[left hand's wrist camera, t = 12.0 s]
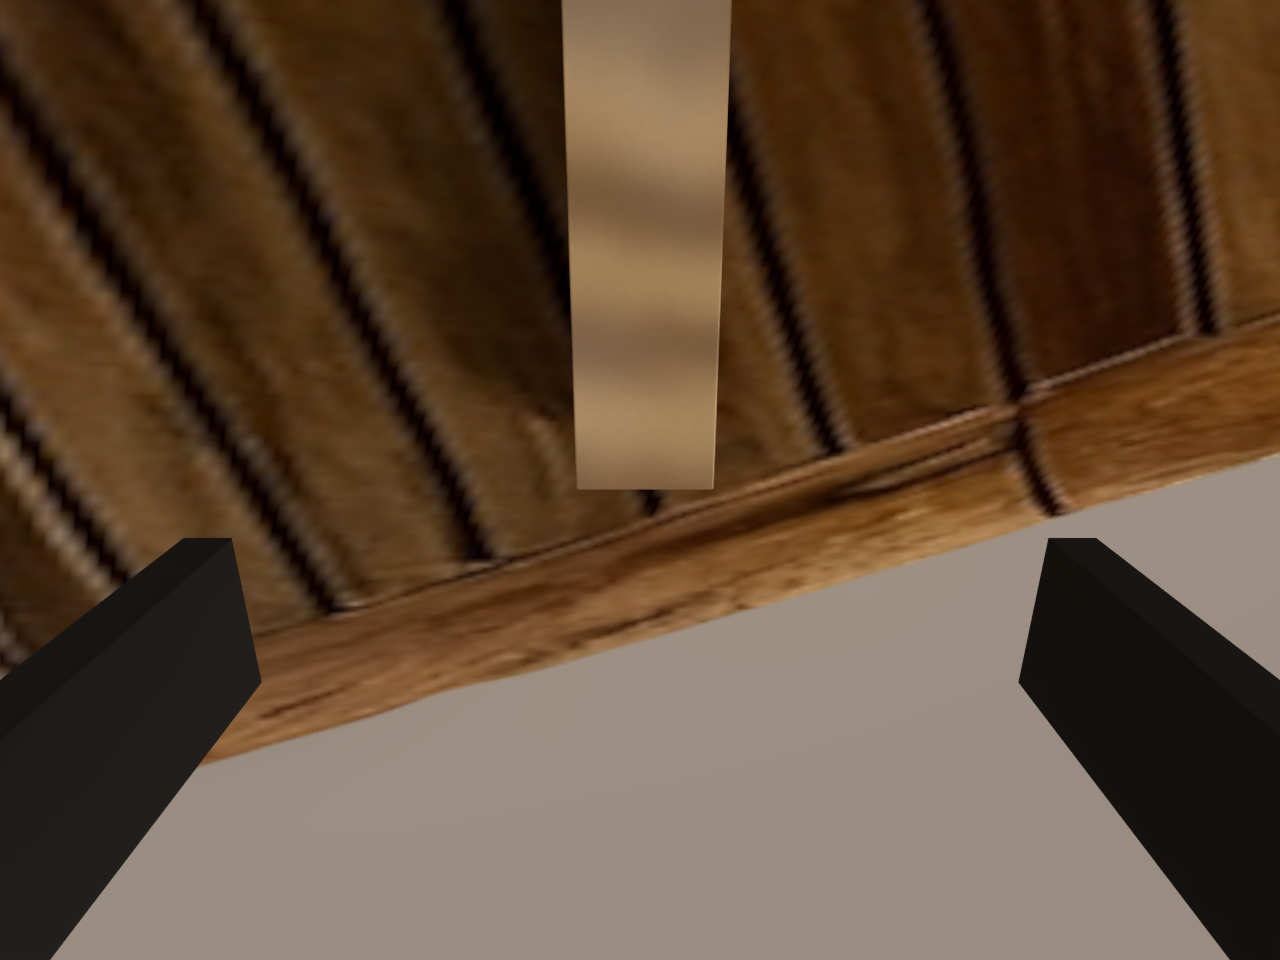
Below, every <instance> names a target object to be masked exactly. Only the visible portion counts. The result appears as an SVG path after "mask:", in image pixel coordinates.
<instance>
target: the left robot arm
mask: <svg viewBox="0 0 1280 960" xmlns="http://www.w3.org/2000/svg"><path fill="white" fill-rule="evenodd" d="M260 684H261V678H260V673H259V668H258V663H257V658H256V653H255V649H254V644H253V639H252V634H251V629H250V625H249V620H248V615H247V610H246V605H245V601H244V596H243V591H242V586H241V581H240V577H239V572H238V567H237V562H236V557H235V552H234V548H233V543H232V538H183V539H182V540H181V541H179V542H178V543H177V544H176V545H174V546H173V547H172V548H170V549H169V550H168V551H166V552H165V553H164V554H163V555H161V556H160V557H159V558H157V559H156V560H155V561H154V562H152V563H151V564H150V565H148V566H147V567H146V568H144V569H143V570H142V571H141V572H139V573H138V574H137V575H135V576H134V577H133V578H132V579H130V580H129V581H128V582H126V583H125V584H124V585H122V586H121V587H120V588H119V589H117V590H116V591H115V592H113V593H112V594H111V595H110V596H108V597H107V598H106V599H104V600H103V601H102V602H100V603H99V604H98V605H97V606H95V607H94V608H93V609H91V610H90V611H89V612H88V613H86V614H85V615H84V616H82V617H81V618H80V619H78V620H77V621H76V622H75V623H73V624H72V625H71V626H69V627H68V628H67V629H66V630H64V631H63V632H62V633H60V634H59V635H58V636H56V637H55V638H54V639H53V640H51V641H50V642H49V643H47V644H46V645H45V646H43V647H42V648H41V649H40V650H38V651H37V652H36V653H34V654H33V655H32V656H31V657H29V658H28V659H27V660H25V661H24V662H23V663H21V664H20V665H19V666H18V667H16V668H15V669H14V670H12V671H11V672H10V673H9V674H7V675H6V676H5V677H3V678H2V679H1V680H0V960H50V959H51V958H52V957H53V955H54V954H55V953H56V951H57V950H58V949H59V947H60V946H61V945H62V944H63V942H64V941H65V940H66V938H67V937H68V936H69V934H70V933H71V932H72V930H73V929H74V928H75V926H76V925H77V924H78V923H79V921H80V920H81V919H82V917H83V916H84V915H85V913H86V912H87V911H88V909H89V908H90V907H91V905H92V904H93V903H94V902H95V900H96V899H97V898H98V896H99V895H100V894H101V892H102V891H103V890H104V888H105V887H106V886H107V885H108V883H109V882H110V880H111V879H112V878H113V877H114V875H115V874H116V873H117V871H118V870H119V869H120V867H121V866H122V865H123V864H124V862H125V861H126V860H127V858H128V857H129V856H130V854H131V853H132V852H133V850H134V849H135V848H136V846H137V845H138V844H139V842H140V841H141V840H142V839H143V837H144V836H145V835H146V833H147V832H148V831H149V829H150V828H151V827H152V825H153V824H154V823H155V822H156V820H157V819H158V818H159V816H160V815H161V814H162V812H163V811H164V810H165V808H166V807H167V806H168V804H169V803H170V802H171V801H172V799H173V798H174V797H175V795H176V794H177V793H178V791H179V790H180V789H181V787H182V786H183V785H184V783H185V782H186V781H187V779H188V778H189V777H190V776H191V774H192V773H193V772H194V770H195V769H196V768H197V766H198V765H199V764H200V762H201V761H202V760H203V759H204V757H205V756H206V755H207V753H208V752H209V751H210V749H211V748H212V747H213V745H214V744H215V743H216V741H217V740H218V739H219V738H220V736H221V735H222V734H223V732H224V731H225V730H226V728H227V727H228V726H229V724H230V723H231V722H232V720H233V719H234V718H235V717H236V715H237V714H238V713H239V711H240V710H241V709H242V707H243V706H244V705H245V703H246V702H247V701H248V699H249V698H250V697H251V696H252V694H253V693H254V692H255V690H256V689H257V688H258V686H259V685H260ZM1019 684H1020V685H1021V686H1022V688H1023V689H1024V690H1025V692H1026V693H1027V694H1028V696H1029V697H1030V698H1031V699H1032V701H1033V702H1034V703H1035V705H1036V706H1037V707H1038V709H1039V710H1040V711H1041V713H1042V714H1043V715H1044V716H1045V718H1046V719H1047V720H1048V722H1049V723H1050V724H1051V726H1052V727H1053V728H1054V730H1055V731H1056V732H1057V734H1058V735H1059V736H1060V737H1061V739H1062V740H1063V741H1064V743H1065V744H1066V745H1067V747H1068V748H1069V749H1070V751H1071V752H1072V753H1073V755H1074V756H1075V757H1076V758H1077V760H1078V761H1079V762H1080V764H1081V765H1082V766H1083V768H1084V769H1085V770H1086V772H1087V773H1088V774H1089V776H1090V777H1091V778H1092V779H1093V781H1094V782H1095V783H1096V785H1097V786H1098V787H1099V789H1100V790H1101V791H1102V793H1103V794H1104V795H1105V796H1106V798H1107V799H1108V800H1109V802H1110V803H1111V804H1112V806H1113V807H1114V808H1115V810H1116V811H1117V812H1118V814H1119V815H1120V816H1121V817H1122V819H1123V820H1124V822H1125V823H1126V824H1127V825H1128V827H1129V828H1130V829H1131V831H1132V832H1133V833H1134V835H1135V836H1136V837H1137V839H1138V840H1139V841H1140V842H1141V844H1142V845H1143V846H1144V848H1145V849H1146V850H1147V852H1148V853H1149V854H1150V856H1151V857H1152V858H1153V860H1154V861H1155V862H1156V864H1157V865H1158V866H1159V867H1160V869H1161V870H1162V871H1163V873H1164V874H1165V875H1166V877H1167V878H1168V879H1169V881H1170V882H1171V883H1172V884H1173V886H1174V887H1175V888H1176V890H1177V891H1178V892H1179V894H1180V895H1181V896H1182V898H1183V899H1184V900H1185V902H1186V903H1187V904H1188V905H1189V907H1190V908H1191V909H1192V911H1193V912H1194V913H1195V915H1196V916H1197V917H1198V919H1199V920H1200V921H1201V923H1202V924H1203V925H1204V926H1205V928H1206V929H1207V930H1208V932H1209V933H1210V934H1211V936H1212V937H1213V938H1214V940H1215V941H1216V942H1217V943H1218V945H1219V946H1220V947H1221V949H1222V950H1223V951H1224V953H1225V954H1226V955H1227V957H1228V958H1229V959H1230V960H1280V680H1279V679H1278V678H1277V677H1275V676H1274V675H1273V674H1271V673H1270V672H1269V671H1267V670H1266V669H1265V668H1264V667H1262V666H1261V665H1260V664H1258V663H1257V662H1256V661H1255V660H1253V659H1252V658H1251V657H1249V656H1248V655H1247V654H1246V653H1244V652H1243V651H1242V650H1240V649H1239V648H1238V647H1236V646H1235V645H1234V644H1233V643H1231V642H1230V641H1229V640H1227V639H1226V638H1225V637H1224V636H1222V635H1221V634H1220V633H1218V632H1217V631H1216V630H1214V629H1213V628H1212V627H1211V626H1209V625H1208V624H1207V623H1205V622H1204V621H1203V620H1201V619H1200V618H1199V617H1198V616H1196V615H1195V614H1194V613H1192V612H1191V611H1190V610H1189V609H1187V608H1186V607H1185V606H1183V605H1182V604H1181V603H1180V602H1178V601H1177V600H1176V599H1174V598H1173V597H1172V596H1170V595H1169V594H1168V593H1167V592H1165V591H1164V590H1163V589H1161V588H1160V587H1159V586H1158V585H1156V584H1155V583H1154V582H1152V581H1151V580H1150V579H1148V578H1147V577H1146V576H1145V575H1143V574H1142V573H1141V572H1139V571H1138V570H1137V569H1135V568H1134V567H1133V566H1132V565H1130V564H1129V563H1128V562H1126V561H1125V560H1124V559H1123V558H1121V557H1120V556H1119V555H1117V554H1116V553H1115V552H1113V551H1112V550H1111V549H1110V548H1108V547H1107V546H1106V545H1104V544H1103V543H1102V542H1101V541H1099V540H1098V539H1097V538H1049V539H1048V543H1047V548H1046V553H1045V557H1044V562H1043V567H1042V572H1041V577H1040V581H1039V586H1038V591H1037V596H1036V601H1035V606H1034V610H1033V615H1032V620H1031V625H1030V629H1029V634H1028V639H1027V644H1026V649H1025V653H1024V658H1023V663H1022V668H1021V673H1020V678H1019Z"/></svg>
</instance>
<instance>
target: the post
mask: <svg viewBox="0 0 1280 960" xmlns="http://www.w3.org/2000/svg"><path fill="white" fill-rule="evenodd" d="M731 10H732V0H561V13H562V46H563V78H564V110H565V142H566V175H567V207H568V239H569V271H570V304H571V336H572V368H573V400H574V433H575V465H576V488H577V489H713V488H714V467H715V440H716V413H717V386H718V359H719V332H720V306H721V279H722V252H723V225H724V198H725V171H726V144H727V117H728V91H729V64H730V37H731Z"/></svg>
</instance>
